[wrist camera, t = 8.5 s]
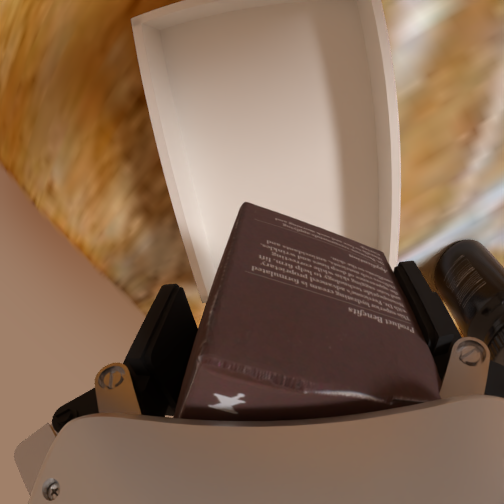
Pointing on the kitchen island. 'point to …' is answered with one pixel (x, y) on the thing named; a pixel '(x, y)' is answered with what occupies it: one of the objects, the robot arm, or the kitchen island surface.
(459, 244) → the supplement bottle
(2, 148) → the kitchen island surface
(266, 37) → the white tray
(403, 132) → the kitchen island surface
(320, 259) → the box
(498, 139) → the kitchen island surface
